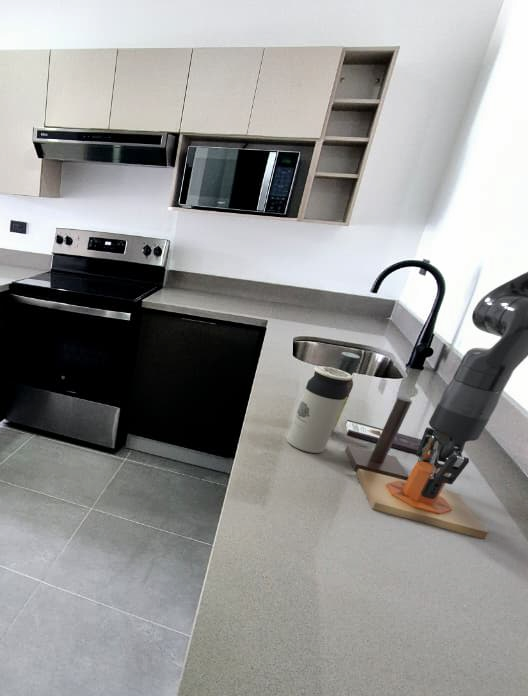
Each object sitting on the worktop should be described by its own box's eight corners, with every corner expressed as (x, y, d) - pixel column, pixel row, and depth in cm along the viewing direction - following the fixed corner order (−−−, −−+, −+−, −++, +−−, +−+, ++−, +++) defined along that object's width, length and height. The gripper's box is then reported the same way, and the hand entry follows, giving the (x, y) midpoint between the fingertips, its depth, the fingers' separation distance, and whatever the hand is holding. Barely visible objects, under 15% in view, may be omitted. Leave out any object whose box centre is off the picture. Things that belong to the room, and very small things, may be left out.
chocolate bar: (433, 454, 117) (348, 431, 123) (431, 458, 117) (347, 434, 124) (426, 440, 124) (347, 419, 131) (425, 444, 125) (345, 422, 131)
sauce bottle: (303, 421, 128) (331, 347, 120) (328, 426, 127) (359, 352, 119) (310, 432, 122) (340, 355, 114) (336, 437, 121) (369, 360, 113)
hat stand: (392, 462, 113) (424, 397, 106) (406, 483, 104) (441, 413, 97) (344, 450, 115) (372, 386, 108) (353, 470, 106) (384, 401, 100)
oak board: (453, 499, 100) (457, 493, 99) (484, 539, 88) (488, 532, 87) (355, 474, 105) (358, 468, 104) (372, 509, 92) (375, 502, 92)
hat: (437, 492, 99) (453, 463, 96) (457, 519, 90) (475, 489, 87) (382, 478, 101) (395, 450, 98) (396, 503, 92) (411, 473, 90)
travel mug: (317, 441, 118) (346, 369, 110) (328, 457, 111) (360, 381, 103) (282, 434, 119) (308, 363, 111) (291, 449, 111) (320, 374, 104)
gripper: (509, 429, 81) (459, 515, 88) (472, 400, 93) (431, 477, 100) (456, 417, 82) (411, 502, 89) (426, 390, 95) (389, 467, 102)
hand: (422, 489), depth 95 cm, fingers closed on hat, 5 cm apart
